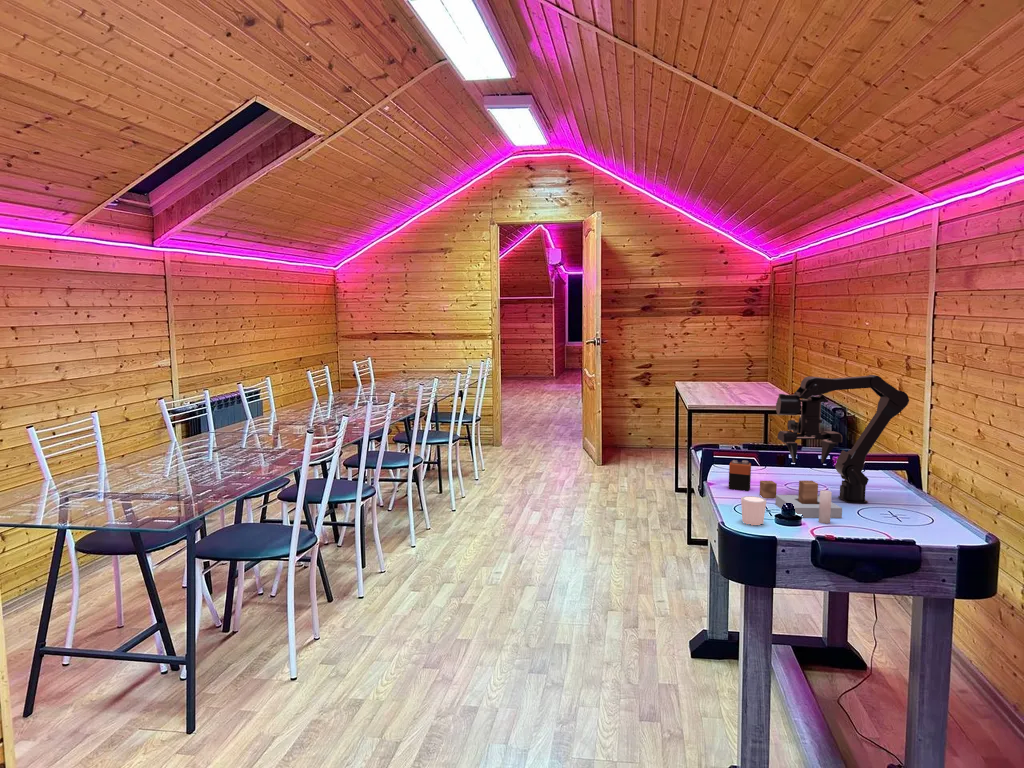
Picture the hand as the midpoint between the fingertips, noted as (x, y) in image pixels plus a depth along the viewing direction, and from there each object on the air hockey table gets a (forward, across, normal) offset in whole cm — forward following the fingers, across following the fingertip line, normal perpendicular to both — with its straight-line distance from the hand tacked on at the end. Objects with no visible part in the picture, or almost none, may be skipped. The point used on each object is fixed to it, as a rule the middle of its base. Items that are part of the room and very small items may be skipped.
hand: (808, 462), depth 208 cm
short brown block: (+12, +12, -2) cm, 17 cm away
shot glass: (+12, +27, +26) cm, 39 cm away
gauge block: (+12, +6, +17) cm, 21 cm away
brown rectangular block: (+12, +6, +14) cm, 19 cm away
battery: (+12, +18, -12) cm, 25 cm away
